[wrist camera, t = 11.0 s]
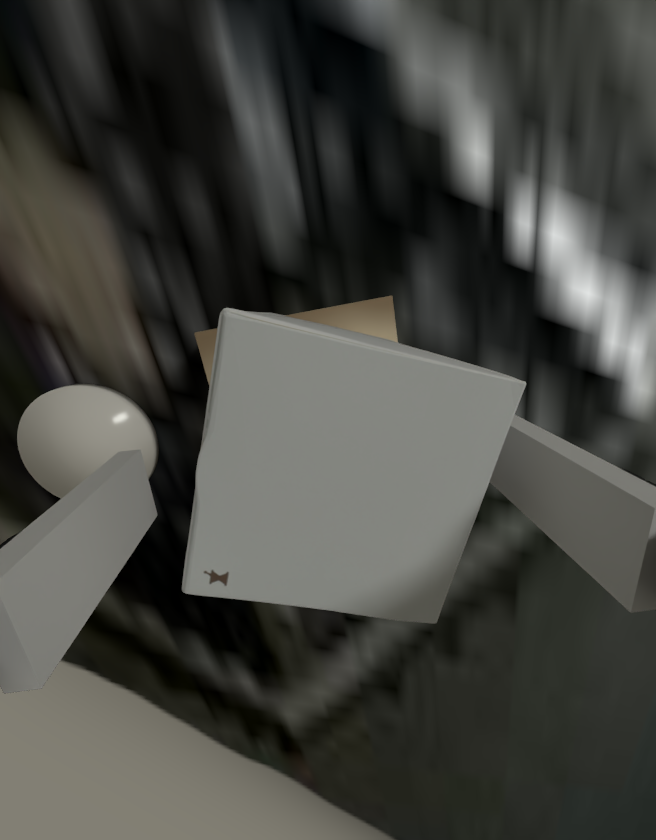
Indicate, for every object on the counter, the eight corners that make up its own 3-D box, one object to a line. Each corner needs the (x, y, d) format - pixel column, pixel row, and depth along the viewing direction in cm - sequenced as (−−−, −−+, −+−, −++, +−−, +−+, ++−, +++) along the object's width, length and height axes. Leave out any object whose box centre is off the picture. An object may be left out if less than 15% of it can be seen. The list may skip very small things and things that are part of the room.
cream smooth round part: (10, 389, 28) (-2, 393, 27) (143, 377, 28) (137, 380, 27) (50, 505, 31) (40, 512, 29) (170, 492, 31) (165, 499, 30)
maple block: (212, 329, 28) (194, 332, 23) (376, 298, 28) (392, 295, 23) (252, 478, 32) (243, 508, 27) (396, 450, 32) (413, 474, 27)
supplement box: (364, 462, 27) (440, 637, 12) (242, 439, 25) (170, 603, 11) (399, 339, 24) (542, 381, 10) (266, 307, 23) (212, 302, 9)
